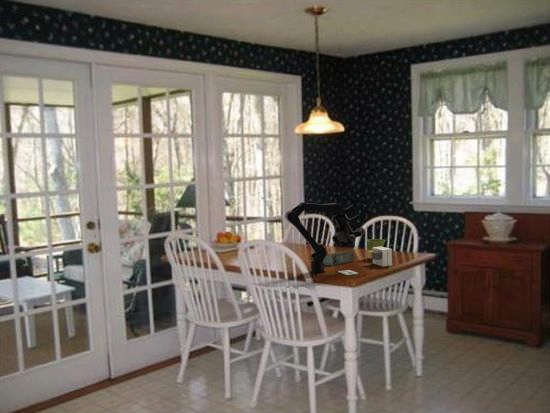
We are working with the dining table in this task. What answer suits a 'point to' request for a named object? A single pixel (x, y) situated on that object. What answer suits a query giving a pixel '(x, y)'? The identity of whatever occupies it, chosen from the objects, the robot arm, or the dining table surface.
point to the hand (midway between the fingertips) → (354, 247)
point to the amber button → (370, 253)
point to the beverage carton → (339, 258)
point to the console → (383, 256)
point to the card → (348, 272)
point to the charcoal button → (376, 255)
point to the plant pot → (375, 243)
